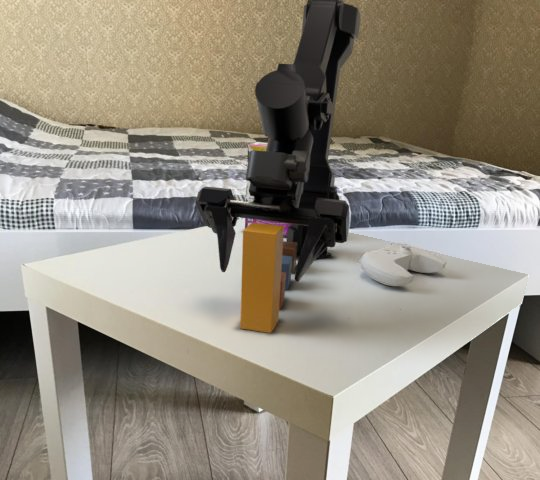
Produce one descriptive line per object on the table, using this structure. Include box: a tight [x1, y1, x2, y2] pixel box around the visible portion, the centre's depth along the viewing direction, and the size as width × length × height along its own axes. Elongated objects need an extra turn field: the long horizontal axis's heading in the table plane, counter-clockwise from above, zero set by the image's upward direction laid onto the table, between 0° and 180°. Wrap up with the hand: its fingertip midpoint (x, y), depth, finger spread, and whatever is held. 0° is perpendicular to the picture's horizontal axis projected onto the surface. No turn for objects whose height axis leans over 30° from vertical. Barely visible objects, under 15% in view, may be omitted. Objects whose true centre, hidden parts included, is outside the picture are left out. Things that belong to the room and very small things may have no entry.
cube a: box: [282, 240, 298, 274], centre depth 93 cm, size 4×4×4 cm
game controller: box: [358, 242, 447, 287], centre depth 93 cm, size 14×4×10 cm
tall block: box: [239, 223, 284, 334], centre depth 71 cm, size 4×4×12 cm
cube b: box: [281, 256, 292, 291], centre depth 86 cm, size 4×4×4 cm
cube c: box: [279, 272, 286, 310], centre depth 80 cm, size 4×4×4 cm
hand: (258, 275), depth 69 cm, fingers open, 9 cm apart
